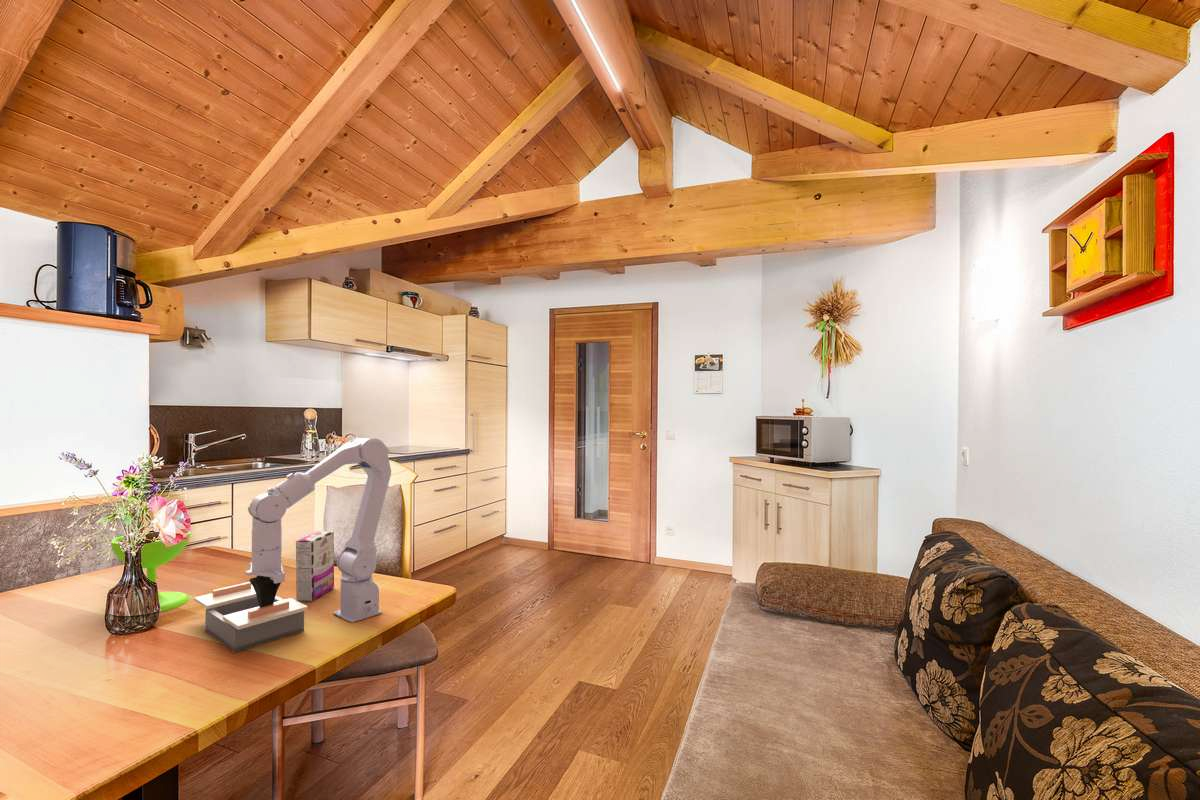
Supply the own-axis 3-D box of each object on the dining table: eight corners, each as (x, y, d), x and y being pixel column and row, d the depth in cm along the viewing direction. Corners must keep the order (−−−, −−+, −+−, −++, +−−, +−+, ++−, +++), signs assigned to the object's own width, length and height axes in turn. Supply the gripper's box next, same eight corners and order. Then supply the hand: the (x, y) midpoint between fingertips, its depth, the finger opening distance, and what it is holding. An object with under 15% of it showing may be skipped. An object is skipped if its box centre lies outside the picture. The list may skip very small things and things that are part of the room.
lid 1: (273, 592, 135) (273, 583, 135) (206, 609, 124) (207, 599, 124) (258, 585, 141) (258, 577, 141) (194, 600, 129) (194, 591, 129)
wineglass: (94, 619, 131) (95, 545, 131) (132, 597, 147) (132, 531, 147) (171, 613, 135) (172, 541, 136) (200, 592, 151) (200, 527, 151)
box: (304, 631, 125) (304, 609, 125) (234, 652, 114) (234, 629, 114) (271, 613, 136) (271, 593, 136) (205, 631, 125) (205, 609, 125)
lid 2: (307, 609, 124) (307, 600, 124) (238, 629, 113) (238, 619, 113) (290, 601, 129) (290, 592, 129) (222, 619, 118) (222, 609, 118)
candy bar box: (317, 587, 155) (317, 530, 155) (334, 588, 154) (335, 530, 155) (294, 601, 143) (295, 540, 144) (313, 602, 143) (313, 540, 144)
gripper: (234, 546, 122) (233, 606, 122) (259, 557, 113) (259, 622, 113) (268, 540, 128) (268, 597, 128) (295, 550, 119) (294, 612, 119)
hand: (266, 608), depth 121 cm, fingers closed
